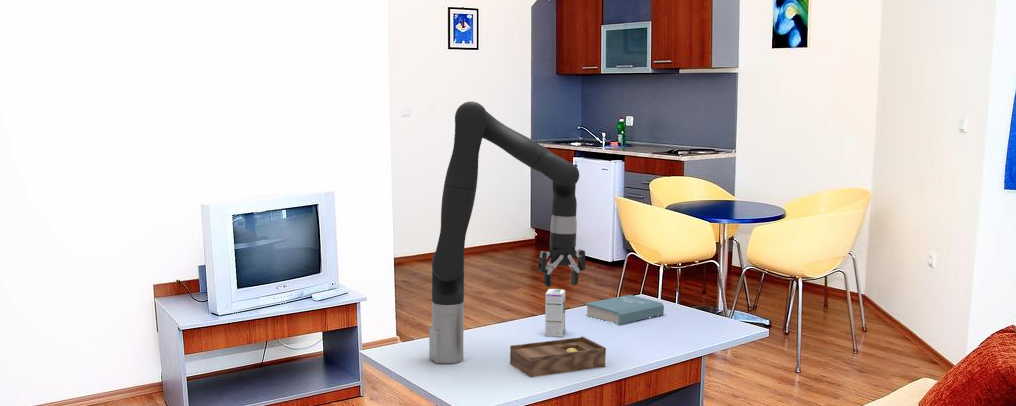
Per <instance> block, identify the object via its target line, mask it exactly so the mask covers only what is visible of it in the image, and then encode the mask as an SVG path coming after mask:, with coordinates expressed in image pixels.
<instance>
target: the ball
mask: <svg viewBox="0 0 1016 406" xmlns="http://www.w3.org/2000/svg"><path fill="white" fill-rule="evenodd" d="M566 351H567V352H577V351H578V350H576V349H575V348H568V349H567V350H566Z"/></svg>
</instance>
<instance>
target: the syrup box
mask: <svg viewBox="0 0 1016 406" xmlns="http://www.w3.org/2000/svg"><path fill="white" fill-rule="evenodd" d="M544 306H545V307H544V308H545V311H544V312H545V320H544V321H545V324H544V325H545V328H544V330H545V332H544V333H545V336H546V337H552V338H553V337H554V338H563V337H564V335H565V334H566V289H563V288H561V289H560V288H548V290H547V291H546V292H545V305H544Z"/></svg>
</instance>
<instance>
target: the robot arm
mask: <svg viewBox="0 0 1016 406" xmlns="http://www.w3.org/2000/svg"><path fill="white" fill-rule="evenodd" d="M453 139H454V140H453V146H452V147H453V148H452V152H451V156H450V160H449V163H448V167H447V170H446V174H445V179H444V184H443V190H442V197H441V205H440V207H441V210H440V231H439V237H438V241H437V244H436V245H437V246H436V249H435V251H434V254H433V255H432V260H431V268H432V269H431V274H432V275H431V276H432V277H431V279H432V280H431V282H432V283H431V325H430V326H429V328H428V329H429V332H428V334H429V335H428V336H429V339H428V342H429V344H428V345H429V346H428V347H429V350H428V351H429V353H428V357H429V359H430V360H431V361H432V362H434V363H435V364H456V363H460V362H462V361H463V360H464V324H465V323H464V316H465V313H464V311H465V310H464V308H465V306H464V304H465V299H464V298H465V285H464V284H465V258H464V257H465V243H466V235H467V232H468V228H469V225H470V220H471V217H472V214H473V209H474V205H475V199H476V193H477V188H478V187H477V186H478V176H479V175H478V174H479V157H480V156H479V155H480V149H481V145H482V142H483V139H485V140H486V141H488V142H490V143H492V144H494V145H496V146H497V147H498V148H499V149H502V151H504V152H506V153H508V154H509V155H510V156H511V157H513V158H514V159H515V160H517V161H519V162H521V163H522V164H524V165H525V166H527V167H528V168H531V169H533V170H535V171H537V172H538V173H541V174H543V175H544V176H545V177H547V178H548V179H550V180H551V181H552V193H553V194H552V203H551V204H552V205H551V206H552V208H551V209H552V210H551V220H550V228H549V230H550V233H549V251H544V250H540V251H539V254H538V264H537V271H538V272H540V273H542V274H543V285H545V287H546V288H551V287H552V286H551V284H552V283H551V282H552V274H551V273H552V272H553V271H554V270H555V269H556V268H557V267H563V266H567V267H568V266H569V268H570V269H571V270H572V271H571V276H570V277H571V278H570V283H571V286H575V287H576V286H577V284H579V278H580V277H579V273H580V272H583V271H585V270H586V251H585V250H583V249H581V248H578V250H576V246H577V228H578V227H577V226H578V225H577V224H578V223H577V222H578V221H577V209H578V207H577V203H578V202H577V197H576V188H577V187H576V184H577V183H578V181H579V179H580V170H579V169H578V167H577V166H576V165H575V164H573V163H572V162H570V161H568V160H566V159H564V158H562V157H560V156H558V155H557V154H555V153H554V152H552V151H551V150H549V149H548V148H547V147H545V146H543V145H542V144H541V143H538V142H536V141H535V140H533V139H532V138H529V137H528V136H526V135H524V134H523V133H520V132H518V131H516V130H515V129H512V128H510V127H508V126H507V125H506V124H504V123H502V122H501V121H500V120H498V119H497V118H495V117H494V116H493V115H492V114H490V113H489V112H488V111H487V110H486V108H485V107H484V106H483V105H482V104H481V103H479V102H476V101H466V102H463V103H462V104H460V105H459V106H458V108H457V109H456V111H455V113H454V138H453ZM575 257H577V262H576V261H575V260H574V259H575ZM549 258H550V259H549ZM548 259H549V261H548V262H547V260H548Z"/></svg>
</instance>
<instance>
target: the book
mask: <svg viewBox="0 0 1016 406" xmlns="http://www.w3.org/2000/svg"><path fill="white" fill-rule="evenodd" d="M585 306H586V307H587V308H586V311H587V312H586V315H585V317H587V316H588V318H591V317H592V318H591V319H594V318H596V319H595V320H598V319H600V320H599V321H601V320H603V321H602V322H605V321H609V322H613V323H615V324H618V325H617V326H621V325H620V324H622V325H625V324H624V323H626V324H629V323H628V322H631V323H634V322H633V321H635V322H638V321H637V320H640V321H642V320H641V319H644V320H647V319H646V318H649V317H653V318H655V317H654V316H658V315H662V314H665V313H664V312H665V309H664V308H665V305H664V304H663V303H662V302H661V301H656V300H653V299H649V298H644V297H641V296H636V295H631V294H628V295H622V296H617V297H612V298H607V299H603V300H597V301H592V302H591V301H590V302H587V303H586V304H585ZM662 316H663V315H662ZM658 317H659V316H658ZM649 319H650V318H649ZM615 324H614V325H615Z"/></svg>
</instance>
